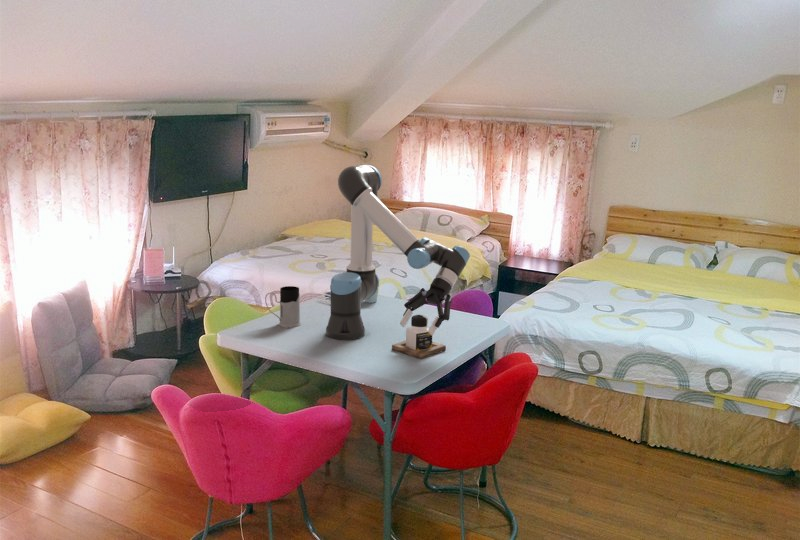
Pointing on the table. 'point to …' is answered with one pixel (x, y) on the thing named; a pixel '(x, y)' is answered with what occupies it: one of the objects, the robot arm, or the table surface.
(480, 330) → the table surface
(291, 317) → the black and white mug
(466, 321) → the table surface
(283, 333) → the table surface
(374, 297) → the cup
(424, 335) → the medicine bottle
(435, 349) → the coaster tray
